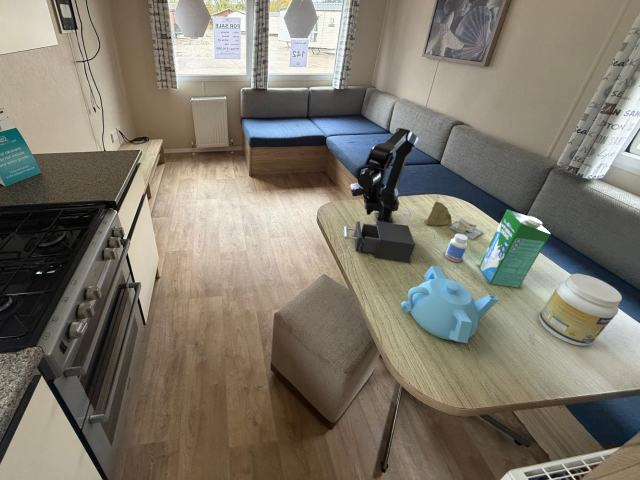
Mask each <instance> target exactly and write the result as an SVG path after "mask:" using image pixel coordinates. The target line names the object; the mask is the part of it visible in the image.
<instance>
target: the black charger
mask: <svg viewBox="0 0 640 480" xmlns="http://www.w3.org/2000/svg"><path fill="white" fill-rule="evenodd" d="M374 225H376V226H377V231H378V235H379V244H378V247H377V251H376V253H374V258H375V259H383V260H388V261H394V262H399V263H406V264H410V262H411V260H412V259H411V258H412V255H413V253H414V250H415V246H416V243H415V240H414V237H413V235H412V232H411V230H410V226H409V225H407V224H401V223H393V222H392V223H391V222H384V221H378V220H376V221H375V224H374Z"/></svg>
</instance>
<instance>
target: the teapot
mask: <svg viewBox="0 0 640 480" xmlns="http://www.w3.org/2000/svg"><path fill="white" fill-rule="evenodd" d="M498 302H499V298H498V297H497V295H492V294H488V295H485V296H483V297H481V298H479V299H477V300H474V298H473V296H472V294H471V292H470V291H469V290H468V289H467V288H466V287H465V286H464V285H462V284H461V283H459V282H457V281H456V280H453V279H450V278H446V276H445V274H444V271H443V269H442V268H441V266H440V265H431V266H430V267H429V268H428V270H426V272H425V273H424V282H422V283H421V284H419V285H418V286H414V287H411V288H410V289H409V290H408V293H407V301H406V300H404V301H402V302H401V304H400V308H401V310H403V311H404V312H407V313H409V312H410V314H411V316H412V318H413V319H414V320H415V322H416V323H417V325H419V326H420V328H422V329H423V330H424V331H426V332H427V333H429V334H431V335H432V336H434V337H436V338H439V339H442V340H448V341H455V342H458V343H463V344H468V342H469V338H471V337H472V336H473V335H475V333H476V331H477V327H478V322H479V321H480V319H481V318H482V317H484V316H485V314H486V313H487V312H488V311H489V310H491V308H492V307H494V305H496V304H497V303H498Z"/></svg>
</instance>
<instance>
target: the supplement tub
mask: <svg viewBox="0 0 640 480" xmlns="http://www.w3.org/2000/svg"><path fill="white" fill-rule="evenodd" d="M622 300H623V296H622V294H621V293H620V292H619V291H618V290H617V289H616V288H615V287H613V286H612V285H610V284H608V283H607V282H605V281H603V280H601V279H599V278H596V277H594V276H591V275H587V274H582V273H572V274H570V275H569V277H568V278H566V279H565V280H563V281H561V282H560V283H559V284H557V286H556V288H555V290H554V291H553V293H552V294H551V296H550V297H549V298H548V300H547V301H546V303H545V305H544V306H543V308H542V309H541V310H540V312H539V315H538V318H539V322H540V323H541V325H542V326H543V327H544V329H546V330H547V331H548V332H549V333H550V334H552V335H553V336H554V337H556V338H558V339H559V340H561V341H564V342H566V343H569V344H571V345H576V346H581V347H582V346H590V345H591V344H593V343H594V342H595V341H596V339H597V338H598V337H599V335H600V334H601V333H602V332H603V331H604V329H606V327H607V326H608V325H609V324H610V323H611V321H612V320H613V319H614V318H615V316H617V314H618V313H619V305H620V304H621V301H622Z"/></svg>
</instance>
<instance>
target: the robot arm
mask: <svg viewBox="0 0 640 480" xmlns="http://www.w3.org/2000/svg"><path fill="white" fill-rule="evenodd" d="M419 143H420V139H419V137H418V135H417V134H415V133H414V132H412V130H411V129H407V128H402V127H397V128H396V130H395V132H394V133H393V134H392V135H391V136H390V137H389V138H388V139H386V141H385V142H380V143H378V144H376V145H374V146H373V147H372V148H371V149H370V151H369V153H368V155H367V157H366V159H365V162H364V164H363V166H365V167H367V168H366V169H364V171H363V172H362V173H360V174H359V175H358V177H357V182H356V183H351V184H350V192H351V196H352V197H360V196H362V198H363V203H364V210H366V215H367V216H370V215H371V214H372V213H373V212H375V217H376V221H379V222H386V223H393V219H392V214H393V212H398V210H399V208H400V207H399V206H400V202H399V196H400V194H399V191H398V187H399V184H400V181H401V178H402V174H403V172H404V168H405V166H406V163H407V160H408V157H409V156H410V155H412V153H414V152H415V149H416V148H418V146H419ZM390 168H391V169H390ZM388 169H390V172H389V174H388V178H387V180H386V184H385V179H386V176H387V175H386V174H387V171H388Z"/></svg>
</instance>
